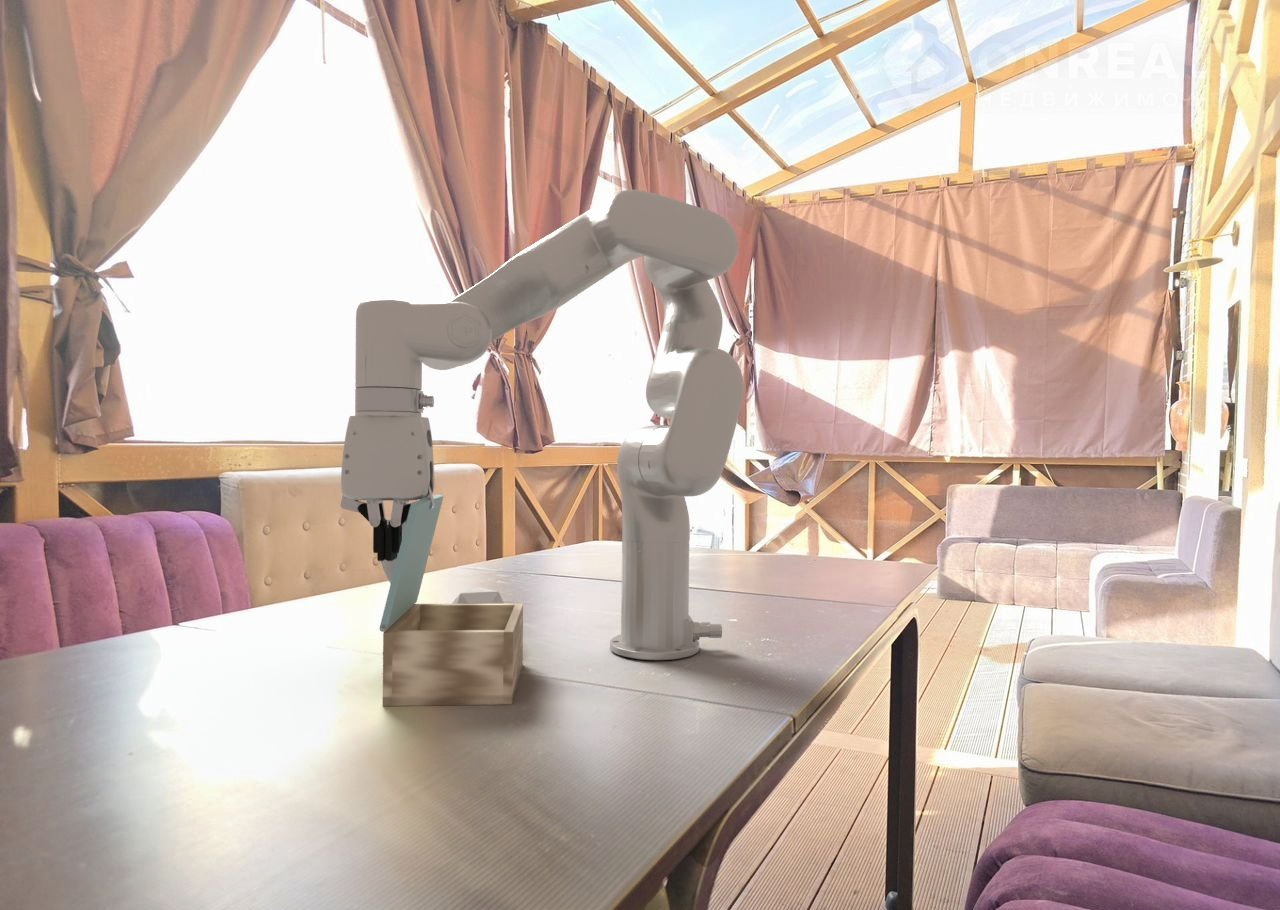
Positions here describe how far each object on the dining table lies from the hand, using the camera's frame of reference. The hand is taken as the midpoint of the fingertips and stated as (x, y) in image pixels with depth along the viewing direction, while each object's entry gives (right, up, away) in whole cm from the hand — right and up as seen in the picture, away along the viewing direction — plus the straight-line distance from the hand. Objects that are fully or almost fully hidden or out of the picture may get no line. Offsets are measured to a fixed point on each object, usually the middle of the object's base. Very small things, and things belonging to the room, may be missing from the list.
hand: (387, 559), depth 94 cm
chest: (+8, -15, +1) cm, 17 cm away
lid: (+3, 0, 0) cm, 3 cm away
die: (+7, -15, +19) cm, 25 cm away
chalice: (-3, -15, +15) cm, 21 cm away
